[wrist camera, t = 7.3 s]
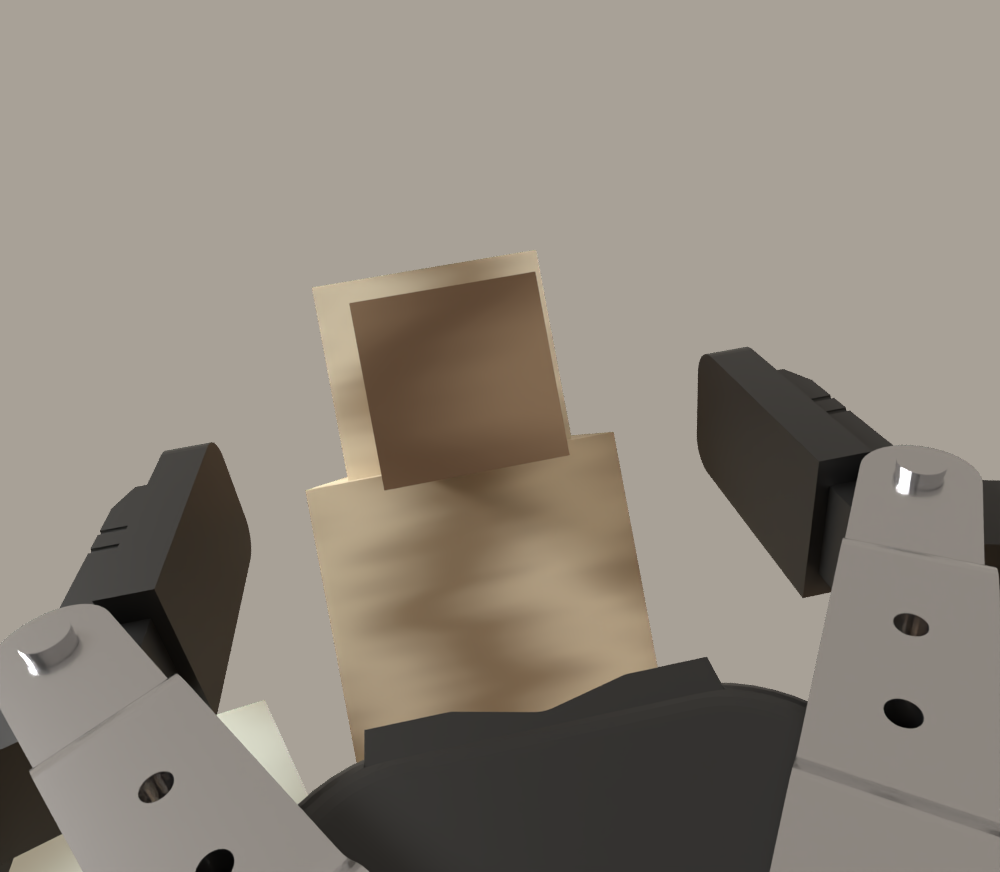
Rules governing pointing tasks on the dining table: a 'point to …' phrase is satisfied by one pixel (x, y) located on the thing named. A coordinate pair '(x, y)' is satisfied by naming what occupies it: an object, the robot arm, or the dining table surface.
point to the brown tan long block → (443, 370)
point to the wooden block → (482, 588)
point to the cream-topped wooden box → (53, 862)
